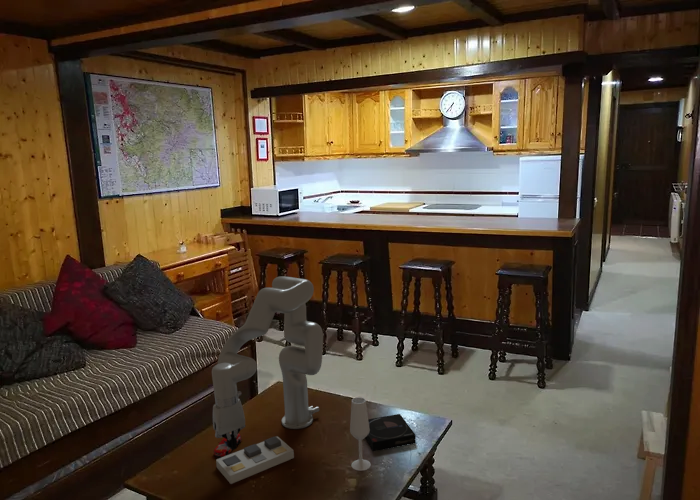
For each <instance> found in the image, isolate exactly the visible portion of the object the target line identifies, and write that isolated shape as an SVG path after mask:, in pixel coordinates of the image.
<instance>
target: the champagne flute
mask: <svg viewBox="0 0 700 500" xmlns="http://www.w3.org/2000/svg"><path fill="white" fill-rule="evenodd" d="M368 419H369V415H368V408H367V399H366V398H365V397H360V396H358V397H354V398H352V399H351V408H350V422H349V423H350V425H349V433H350V434H351V436H353V438H355V439H356V440H357V441H358V459H357V460H356V459H355V460H354V461H353V462H352V463H351V467H352V469H353V470H356V471H362V472H363V471H366V470H368V469H370V468H371V466H372V465H371V462H370V461H369V460H368V459H363V458H364V457H363V440H364V439H366V438H365V437H366V436H367V435H368V434H369V431H370V429H369V421H368Z"/></svg>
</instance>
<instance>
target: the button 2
mask: <svg viewBox="0 0 700 500" xmlns="http://www.w3.org/2000/svg"><path fill="white" fill-rule="evenodd" d="M263 442H264V443H265V446H266V447H267V448H268V449H269V450H271V449H274V448H276V447H279V446H281V441H280V440H279V439H278V438H277V436H272V437H270V438H267V439H264V440H263Z"/></svg>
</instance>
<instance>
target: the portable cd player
mask: <svg viewBox="0 0 700 500" xmlns="http://www.w3.org/2000/svg"><path fill="white" fill-rule="evenodd" d="M368 421H369V429H370V431H369V434H368V435H367V436H366V437H365V438H364V439H365V440H366V442H367V443H368V445H369V447H370V449H371V450H372V452H379V451H383V449H384V450H387V449H388V448H389V449H394V448H398V447H397V446H400V447H403V446H402V445H405V446H408V445H407V444H410V445H414V444H413V443H417V441H416V440H417V439H416V433H415V432H414V430H413V429H412V428H411V426H409V424H408V422H407V421H406V419H404V417H403V416H402V414H401V413H397V414H390V415H385V416H380V417H373V418H368ZM393 447H394V448H393Z"/></svg>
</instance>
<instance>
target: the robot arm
mask: <svg viewBox="0 0 700 500" xmlns="http://www.w3.org/2000/svg"><path fill="white" fill-rule="evenodd" d="M271 286H272V287H264V288H261V289H260V290H259V291H258V292H257V294H256V297H255V298H254V299H255V300H254V301H253V304H252V305H251V306H252V307H251V309H250V310H249V314H247V318H246V320H245V322H244V324H243V325H242V326H241V327H239V328H237V330H235V331H234V332H233V333H232V334H231V335H230V336H229V337H228V338H227V340H225V343H224V345H223V346H222V349H221V351H220V353H219V355H218V359H217V364H215V365H214V366H212V369H211V379H212V386H213V393H214V394H213V395H214V401H215V403H214V404H213V405H212V426H213V430H214V432H215V434H214V436H215V438H216V439H220V438H222V439H224V438H225V439H227V446H228V447H230V449H231V450H232V451H233V450H234V449H235V450H236V449H237V446H238V445H237V436H238V434H240V431H241V430H243V429H245V428H246V418H245V417H246V416H245V412H244V409H243V408H244V407H243V405H242V402H241V399H240V398H239V397H240V396H242V391H241V390H239V391H238V387H237V383H238V382H241V381H245V380H248V379H250V378H252V376H254V375H255V374H256V373H257V370H258V369H257V368H258V363H257V362H256V360H255V359H254V358H253V357H249V356H245V355H241V354H238V352H239V351H240V349H241V348H242V346H243V345H244V344H246V343H247V342H248V341H251V340H253V339H256V338H259V337H262V336H265V335H266V334H267V333H268V331H269V328H270V326H271V324H272V322H273V319H274V316H275V315H276V314H275V313H280V314H284V316H283V317H284V319H283V324H284V326H283V336H284V337H283V338H284V340H285V341H286V342H288V343H290V344H294V345H287V346H285V347H283V348H282V349H281V350H280V352H279V353H278V355H279V356H278V362H279V367H280V371H281V375H282V377H281V378H282V386H283V388H282V389H283V402H284V403H283V404H284V416H283V417H282V418H281V425H282V426H283V427H285V428H286V429H291V430H300V429H304V428H308V427H309V426H310V425H311V424H312V423H313V422H314V417H313V414H315V413H317V412H319V411H320V407H319V406H316V407H314V406H313V405H311V406H309V394H308V393H309V392H308V391H309V390H308V378H307V376H316V375H317V374H318V373H319V372H320V370H321V368H322V364H323V352H324V351H323V350H324V349H323V347H324V346H323V345H324V333H323V329H322V327H321V325H319V324H318V323H317V322H315V321H314V322H313V321H308V320H307V305H306V303H308V302H309V300H310V299H312V297H313V295H314V290H315V289H314V284H313V283H312V282H311V281H310V280H309V279H305V278H299V277H298V278H297V277H294V276H293V277H292V276H285V275H284V276H283V275H282V276H277V277H275V278H274V279H273V280H272V283H271ZM295 345H298V346H295ZM300 346H304V347H300ZM230 434H231V435H230ZM236 445H237V446H236Z"/></svg>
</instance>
